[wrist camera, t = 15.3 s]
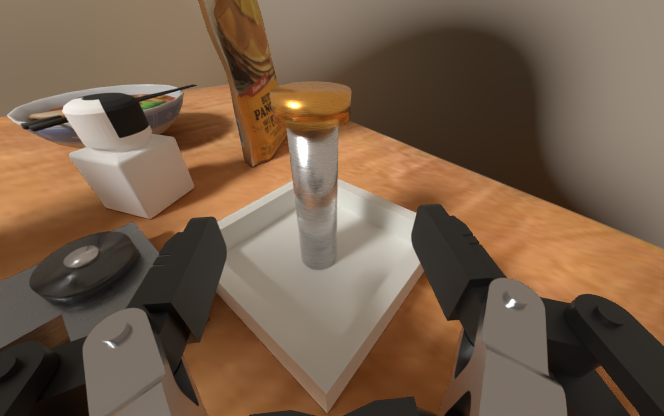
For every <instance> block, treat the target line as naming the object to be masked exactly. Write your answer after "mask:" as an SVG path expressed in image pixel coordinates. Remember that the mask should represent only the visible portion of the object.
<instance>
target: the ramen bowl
mask: <svg viewBox="0 0 664 416" xmlns="http://www.w3.org/2000/svg"><path fill="white" fill-rule="evenodd" d="M193 86H196V85H190V86H185V87H181V88H177V87H174V86H169V85H156V84H139V85H120V86H110V87H101V88H93V89H88V90H82V91H75V92H69V93H64V94H60V95H55V96H52V97H47V98H43V99H39V100H36V101H33V102H30V103H27V104H25V105H22V106H19V107H16V108H15V109H14V110H13V111H11V112H10V113H9V114H8V115H7V116H8V117H9V118H10V119H11V120H12V121H13V122H15V123H16V124H18V125H20V126H21V127H23V128H24V129H26V130H28V131H30V132H32V133H34V134H36V135H38V136H40V137H42V138H44V139H46V140H49V141H51V142H54V143H57V144H59V145H63V146H69V147H74V148H85V147H86V146H84V144H83V143H82V141H81V139H80V138H79V136H78V135H77V133H76V132H75V130H74V129H73V127H72V126H71V124H70V123H69V121H68V120H67V118H66V117H65V115H64V114H63V112H62V110H63V106H64V105H66V104H67V103H68V102H70V101H71V100H73V99H75V98H79V97H82V96H87V95H92V94H100V93H124V94H127V95H131V96H133V97H135V98H136V99H138V101H139V103H140V105H141V107H142V110H143V112H144V114H145V116H146V118H147V121H148V123H149V125H150V127H151V129H152V133H151V134H157V135H160V134H161V133H163V132H165V131H166V130H167V129H168V128H169V127H170V126H171V125H172V123H173V122H174V121H175V120H176V119H177V117H178V115H179V113H180V109H181V106H182V103H183V94H184V93H183V91H182V89H186V88H189V87H193Z"/></svg>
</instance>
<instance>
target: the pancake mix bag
mask: <svg viewBox="0 0 664 416" xmlns="http://www.w3.org/2000/svg"><path fill="white" fill-rule="evenodd" d="M198 1H199V4H200V8H201V11H202V14H203V18H204V20H205V24H206V27H207V30H208V33H209V35H210V37H211V40H212V42H213V45H214V47H215V49H216V51H217V53H218V55H219V58H220V60H221V62H222V64H223V67H224V69H225V71H226V74H227V78H228V82H229V86H230V91H231V96H232V102H233V107H234V112H235V117H236V121H237V126H238V130H239V135H240V140H241V145H242V150H243V155H244V159H245V162H246V163H248V164H249V165H250V166H252V167H254V166H255V165H256V164H258V163H261V162H265V161H269V160H270V159H271V158H272V157H273V156H274V155H275V154H276V152H277V151H278V149H279V148H280V146H281V145H282V143H283V142H284V141H285V139H286V138H287V128H285V127H282V126H279V125H278V124H276V123H275V122H274V120H273V113H272V106H271V99H270V90H271V89H272V88H274V87H276V86H278V85H277V80H276V75H275V71H274V66H273V62H272V57H271V53H270V48H269V44H268V40H267V37H266V33H265V28H264V23H263V19H262V16H261V12H260V9H259V5H258V2H257V0H198Z"/></svg>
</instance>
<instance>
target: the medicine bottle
mask: <svg viewBox="0 0 664 416" xmlns="http://www.w3.org/2000/svg"><path fill="white" fill-rule="evenodd" d="M62 112H63V114H64V115H65V117H66V118H67V120H68V121H69V123H70V124H71V126H72V127H73V129H74V130H75V132H76V133H77V135H78V136H79V138H80V139H81V141H82V143H83V144H84V146H86V147H85V148H82V149H79V150H77V151H74V152H72V153H70V154H69V158H70V159H71V160H72V162H73V163H74V165H75V166H76V167H77V169H78V170H79V172H80V173H81V174H82V176H83V177H84V179H85V180H86V181H87V183H88V184H89V185H90V187H91V188H92V190H93V191H94V192H95V194H96V195H97V197H98V198H99V199H100V201H101V202H102V204H103V205H104V206H105V207H106V208H108V209H112V210H116V211H120V212H124V213H128V214H132V215H135V216H139V217H143V218H147V219H152V218H153V217H155V216H156V215H157V214H159V213H160V212H162V211H163V210H164V209H166V208H167V207H168V206H170V205H171V204H173V203H174V202H175V201H177V200H178V199H180V198H181V197H182V196H184V195H185V194H186V193H188V192H189V191H191V190H192V189H193V188H194V183H193V181H192V179H191V176H190V174H189V171H188V169H187V166H186V164H185V161H184V159H183V157H182V154H181V152H180V149H179V147H178V144H177V142H176V139H175V138H174V137H171V136H164V135H157V134H151V133H152V129H151V127H150V125H149V123H148V121H147V118H146V116H145V114H144V112H143V110H142V107H141V105H140V103H139V101H138V99H136V98H135V97H133V96H131V95H127V94H124V93H100V94H92V95H87V96H82V97H79V98H75V99H73V100H71V101H70V102H68V103H67V104H66V105H64V106H63V110H62Z"/></svg>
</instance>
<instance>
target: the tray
mask: <svg viewBox="0 0 664 416" xmlns="http://www.w3.org/2000/svg"><path fill="white" fill-rule="evenodd" d="M415 217H416V213H415V212H413V211H411V210H408V209H406V208H404V207H401V206H399V205H397V204H394V203H392V202H390V201H388V200H385V199H383V198H381V197H378V196H376V195H374V194H371V193H369V192H367V191H365V190H362V189H360V188H358V187H355V186H353V185H351V184H349V183H346V182H344V181H342V180H339V179H338V193H337V258H336V261H335V263H334V264H333V265H332V266H331V267H329V268H327V269H323V270H313V269H310V268H308V267H307V266H305V265H304V263H303V261H302V257H301V249H300V240H299V231H298V223H297V214H296V206H295V197H294V188H293V181H291V182H289V183H287V184H285V185H284V186H282V187H280V188H278V189H276V190H274V191H273V192H271V193H269V194H267V195H265V196H263V197H262V198H260V199H258V200H256V201H254V202H252V203H251V204H249V205H247V206H245V207H243V208H241V209H240V210H238V211H236V212H234V213H232V214H230V215H229V216H227V217H225V218H223V219H221V220H220V221H218V222H217V223H218V225H219V228H220V231H221V233H222V236H223V238H224V241H225V244H226V247H227V258H226V262H225V265H224V268H223V271H222V274H221V277H220V280H219V284H218V287H217V290H216V293H217V294H218V295H219V296H220V297H221V298H222V300H223V301H224V302H225V303H226V304H227V305H228V306H229V307H230V308H231V309H232V310H233V312H234V313H235V314H236V315H237V316H238V317H239V318H240V319H241V320H242V321H243V322H244V324H245V325H246V326H247V327H248V328H249V329H250V330H251V331H252V332H253V333H254V334H255V336H256V337H257V338H258V339H259V340H260V341H261V342H262V343H263V344H264V345H265V346H266V347H267V349H268V350H269V351H270V352H271V353H272V354H273V355H274V356H275V357H276V358H277V359H278V361H279V362H280V363H281V364H282V365H283V366H284V367H285V368H286V369H287V370H288V371H289V373H290V374H291V375H292V376H293V377H294V378H295V379H296V380H297V381H298V382H299V383H300V385H301V386H302V387H303V388H304V389H305V390H306V391H307V392H308V393H309V394H310V395H311V397H312V398H313V399H314V400H315V401H316V402H317V403H318V404H319V405H320V406H321V407H322V409H323V410H324V411H325V412H326V413H327V414H328V412H329V411H330V409H331V408H332V406H333V405H334V403H335V402H336V400H337V399H338V398H339V396H340V395H341V393H342V392H343V390H344V389H345V387H346V386H347V384H348V383H349V381H350V380H351V378H352V377H353V375H354V374H355V372H356V371H357V370H358V368H359V367H360V365H361V364H362V362H363V361H364V359H365V358H366V356H367V355H368V353H369V352H370V350H371V349H372V347H373V346H374V345H375V343H376V342H377V340H378V339H379V337H380V336H381V334H382V333H383V331H384V330H385V328H386V327H387V325H388V324H389V322H390V321H391V319H392V318H393V317H394V315H395V314H396V312H397V311H398V309H399V308H400V306H401V305H402V303H403V302H404V300H405V299H406V297H407V296H408V294H409V293H410V291H411V290H412V289H413V287H414V286H415V284H416V283H417V281H418V280H419V278H420V277H421V275H422V274H423V272H424V270H423V268H422V266H421V263H420V261H419V259H418V257H417V255H416V253H415V251H414V248H413V246H412V242H411V233H412V229H413V225H414V221H415Z"/></svg>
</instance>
